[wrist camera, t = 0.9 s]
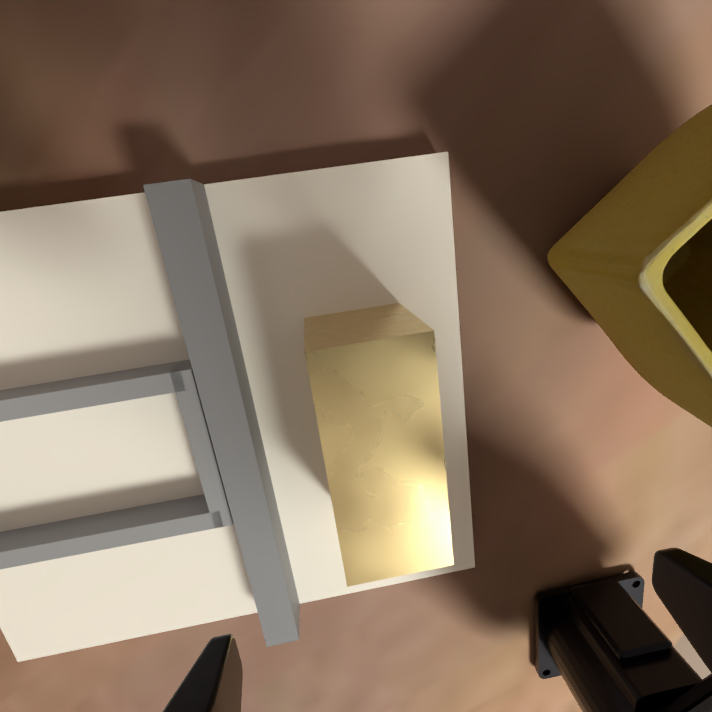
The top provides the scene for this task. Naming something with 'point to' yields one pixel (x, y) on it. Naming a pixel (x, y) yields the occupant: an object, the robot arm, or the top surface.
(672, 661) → the robot arm
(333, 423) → the bar
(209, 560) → the board
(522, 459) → the top surface
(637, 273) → the flower pot
